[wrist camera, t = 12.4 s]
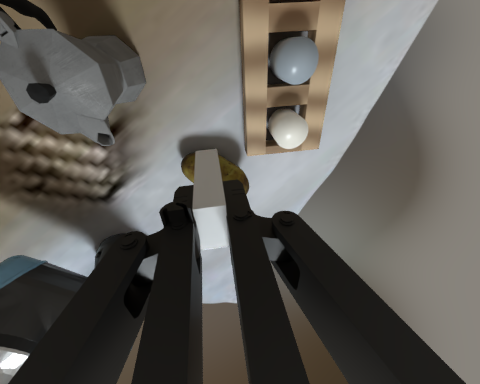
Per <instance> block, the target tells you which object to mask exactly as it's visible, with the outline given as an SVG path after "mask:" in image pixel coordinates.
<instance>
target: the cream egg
mask: <svg viewBox="0 0 480 384" xmlns="http://www.w3.org/2000/svg"><path fill="white" fill-rule="evenodd" d="M268 130H269V132H270V134H271V135H272V136H273V138H274V139H275V141H276V142H277V143H278V145H279V146H280V147H282V148H285V149H293V148H296V147H298V146H299V145H301V144H302V143H303V142H304V140H305V139H306V137H307V134H308V124H307V122H306V121H305V119H303V118H302V117H301V116H300V115H298V114H297V113H296V112H294V111H293V110H292V109H289V108H281V109H278V110H277V111H275V112H274V113H273V114H272V115H271V117H270V119H269V121H268Z"/></svg>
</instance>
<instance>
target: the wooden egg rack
mask: <svg viewBox="0 0 480 384" xmlns="http://www.w3.org/2000/svg"><path fill="white" fill-rule="evenodd" d="M239 5H240V31H241V57H242V83H243V109H244V134H245V151H246V154H247V156H254V155H264V154H273V153H283V152H293V151H302V150H312V149H319V144H320V138H321V133H322V127H323V121H324V116H325V110H326V105H327V99H328V94H329V88H330V83H331V77H332V72H333V66H334V61H335V55H336V50H337V44H338V39H339V33H340V28H341V22H342V16H343V11H344V5H345V0H312V2H293V3H273V4H269V0H239ZM295 31H308V38H310V39H311V40H312V41H313V42H314V43H315V44H316V46H317V49H318V54H319V58H318V64H317V67H316V70H315V72H314V73H313V75H312V76H311V77H310V78H309V79H308V80H307V81H305V82H304V83H302V84H298V85H293V84H289V83H281V84H268V85H267V72H268V33H278V32H295ZM292 105H300V111H299V115H300V116H301V117H302V118H303V119H305V121H306V122H307V124H308V134H307V137H306V139H305V140H304V142H303V143H302V144H301V145H299V146H298V147H296V148H293V149H285V148H282V147H280V146H279V145H278V143H277V142H276V141H275V140H266V115H267V108H269V107H280V106H292Z"/></svg>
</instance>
